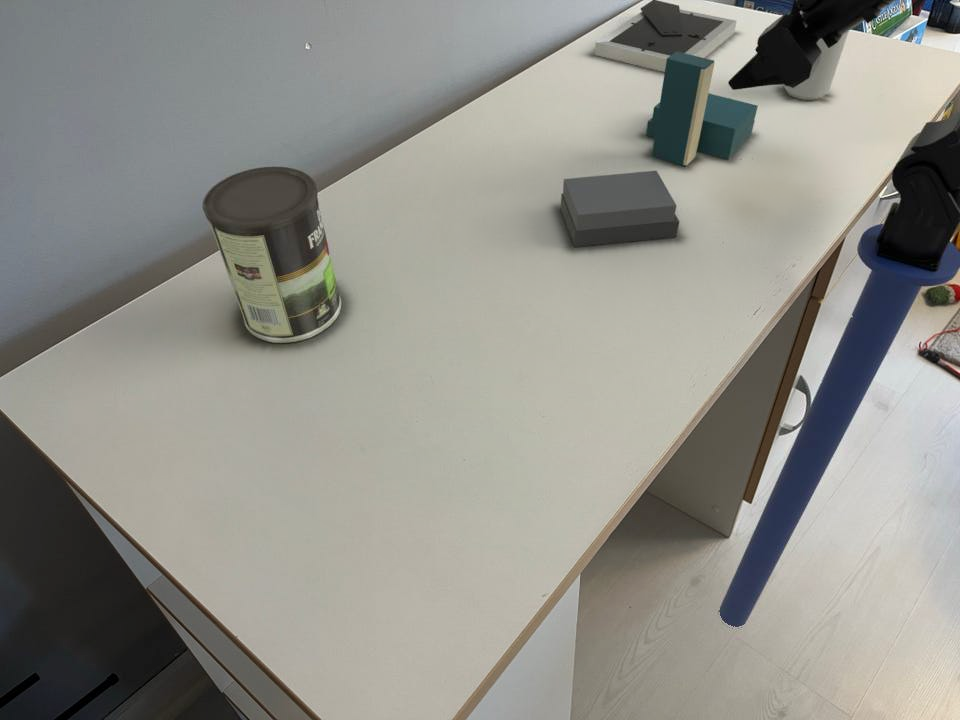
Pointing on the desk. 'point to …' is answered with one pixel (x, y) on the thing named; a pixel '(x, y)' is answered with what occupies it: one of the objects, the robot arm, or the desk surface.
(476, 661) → the desk surface
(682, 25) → the picture frame
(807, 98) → the beverage can
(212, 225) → the coffee can
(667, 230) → the grey books
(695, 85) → the teal book
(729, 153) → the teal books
